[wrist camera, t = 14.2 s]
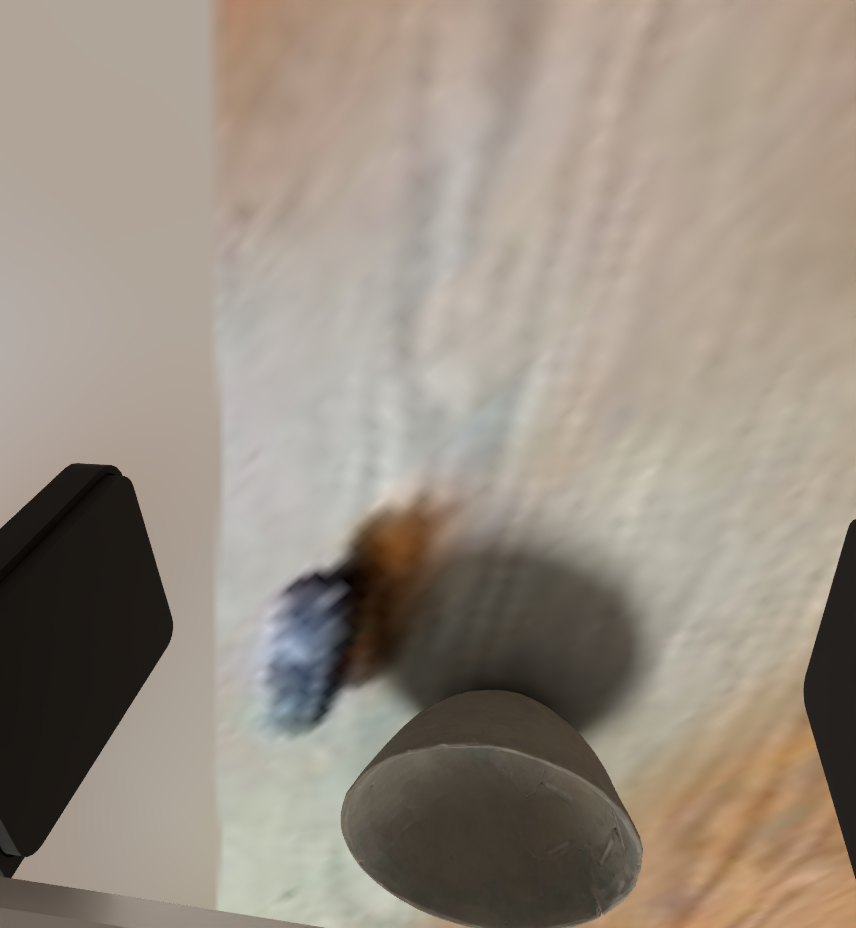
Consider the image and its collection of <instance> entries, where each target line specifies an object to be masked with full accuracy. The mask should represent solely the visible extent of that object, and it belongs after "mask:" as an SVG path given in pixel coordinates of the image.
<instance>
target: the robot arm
mask: <svg viewBox="0 0 856 928" xmlns="http://www.w3.org/2000/svg"><path fill="white" fill-rule="evenodd" d="M172 631H173V620H172V616H171V613H170V609H169V606H168V602H167V599H166V595H165V592H164V589H163V586H162V582H161V578H160V576H159V572H158V569H157V565H156V561H155V558H154V555H153V551H152V548H151V544H150V541H149V538H148V534H147V531H146V528H145V524H144V521H143V517H142V514H141V510H140V507H139V504H138V501H137V497H136V494H135V490H134V487H133V484H132V482H131V481H130V479H128V478H127V477H125V476H122V474H121V472H120V471H119V470H118V468H117V467H115V466H112V465H98V464H80V463H76V464H71V465H69V466H68V467H66V468H65V469H64V470H63V471H62V472H61V473H59V474H58V475H57V476H56V477H55V478H54V479H53V480H52V481H51V482H50V483H49V484H48V485H47V486H46V487H45V488H44V489H42V490H41V491H40V492H39V493H38V494H37V495H36V496H35V497H34V498H33V499H32V500H31V501H29V503H27V504H26V505H25V506H24V507H23V508H22V509H21V510H20V511H19V512H18V513H17V514H16V515H15V516H14V517H12V518H11V519H10V520H9V521H8V522H7V523H6V524H5V525H4V526H3V527H2V528H1V529H0V928H323V927H316V926H310V925H304V924H298V923H291V922H285V921H279V920H273V919H266V918H260V917H254V916H248V915H242V914H235V913H229V912H223V911H217V910H210V909H204V908H198V907H191V906H185V905H179V904H172V903H166V902H160V901H153V900H146V899H141V898H134V897H127V896H121V895H115V894H108V893H101V892H95V891H89V890H83V889H76V888H69V887H63V886H57V885H50V884H44V883H37V882H30V881H25V880H18V879H11V878H12V876H13V874H14V873H15V871H16V870H17V868H18V867H19V865H20V864H21V862H22V860H23V859H24V857H28V856H30V855H33V854H34V853H35V852H36V851H37V850H38V849H39V848H40V847H41V845H42V844H43V843H44V841H45V839H46V838H47V836H48V835H49V833H50V832H51V830H52V828H53V827H54V825H55V824H56V822H57V820H58V818H59V817H60V816H61V814H62V813H63V811H64V809H65V808H66V806H67V805H68V803H69V801H70V800H71V798H72V797H73V795H74V793H75V792H76V790H77V789H78V787H79V786H80V784H81V782H82V781H83V779H84V778H85V776H86V775H87V773H88V771H89V769H90V768H91V767H92V765H93V764H94V762H95V760H96V759H97V757H98V756H99V754H100V752H101V751H102V749H103V748H104V746H105V744H106V743H107V741H108V740H109V738H110V737H111V735H112V733H113V732H114V730H115V729H116V727H117V726H118V724H119V722H120V721H121V719H122V718H123V716H124V714H125V713H126V711H127V709H128V708H129V707H130V705H131V703H132V702H133V700H134V699H135V697H136V696H137V694H138V692H139V691H140V689H141V687H142V686H143V684H144V683H145V681H146V680H147V678H148V677H149V675H150V673H151V672H152V670H153V669H154V667H155V665H156V663H157V662H158V661H159V659H160V658H161V656H162V654H163V653H164V651H165V649H166V648H167V646H168V644H169V642H170V640H171V637H172ZM804 702H805V707H806V711H807V715H808V718H809V722H810V725H811V729H812V732H813V735H814V739H815V742H816V746H817V749H818V752H819V756H820V759H821V763H822V766H823V769H824V773H825V776H826V780H827V783H828V786H829V790H830V793H831V797H832V800H833V804H834V807H835V810H836V814H837V817H838V821H839V824H840V827H841V831H842V834H843V838H844V841H845V844H846V848H847V851H848V855H849V858H850V861H851V865H852V868H853V872H854V875H855V879H856V519H855V520H853V521H852V522H851V523H850V525H849V528H848V531H847V534H846V537H845V541H844V544H843V548H842V551H841V555H840V558H839V562H838V565H837V569H836V572H835V576H834V579H833V582H832V586H831V589H830V593H829V596H828V600H827V603H826V607H825V610H824V614H823V617H822V620H821V624H820V627H819V631H818V634H817V638H816V641H815V645H814V648H813V652H812V655H811V659H810V662H809V665H808V669H807V672H806V676H805V681H804Z"/></svg>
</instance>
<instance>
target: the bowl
mask: <svg viewBox="0 0 856 928" xmlns="http://www.w3.org/2000/svg"><path fill="white" fill-rule="evenodd" d="M341 828H342V833H343V836H344V839H345V841H346V844H347V846H348V848H349V850H350V852H351V854H352V856H353V857H354V859H355V860H356V861H357V863H358V864H359V866H360V867H361V868H362V869H363V870H364V871H365V872H366V873H367V874H368V875H369V876H370V877H371V878H372V879H373V880H374V881H375V882H377V883H378V884H379V885H380V886H382V887H383V888H384V889H386V890H387V891H388V892H390V893H391V894H393V895H394V896H396V897H397V898H399V899H400V900H402V901H404V902H406V903H408V904H409V905H411V906H413V907H415V908H416V909H418V910H421V911H423V912H425V913H428V914H430V915H432V916H435V917H438V918H440V919H443V920H446V921H449V922H453V923H456V924H460V925H464V926H468V927H472V928H571V927H575V926H578V925H581V924H584V923H587V922H590V921H592V920H595V919H597V918H599V917H600V915H601V912H602V914H603V915H605V914H606V913H607V912H609V911H610V910H612V909H613V908H615V907H616V906H617V905H619V904H620V903H621V902H623V901H624V899H625V898H626V897H627V896H628V895H629V894H630V892H631V891H632V890H633V888H634V887H635V885H636V882H637V879H638V875H639V873H640V869H641V863H642V854H643V848H642V844H641V840H640V836H639V834H638V832H637V830H636V828H635V826H634V824H633V822H632V820H631V818H630V816H629V814H628V813H627V811H626V809H625V807H624V805H623V804H622V802H621V800H620V798H619V796H618V794H617V792H616V790H615V788H614V786H613V784H612V782H611V780H610V778H609V776H608V774H607V772H606V770H605V768H604V767H603V765H602V763H601V762H600V760H599V759H598V757H597V756H596V754H595V752H594V751H593V750H592V749H591V747H590V746H589V745H588V744H587V742H586V741H585V740H584V739H583V737H582V736H581V735H580V734H579V733H578V732H577V731H576V730H575V729H574V728H573V727H572V726H571V725H570V724H569V723H568V722H566V721H565V720H564V719H563V718H561V717H560V716H559V715H557V714H556V713H555V712H554V711H552V710H551V709H549V708H548V707H546V706H545V705H543V704H541V703H540V702H538V701H536V700H534V699H532V698H530V697H527V696H525V695H522V694H520V693H515V692H511V691H506V690H478V691H469V692H464V693H461V694H457V695H454V696H451V697H449V698H446V699H444V700H442V701H440V702H438V703H435V704H433V705H432V706H430V707H428V708H427V709H425V710H424V711H422V712H420V713H419V714H418V715H416V716H415V717H414V718H413V719H412V720H410V721H409V722H408V723H407V724H406V725H405V726H404V727H403V728H402V729H401V730H400V731H399V732H398V733H397V734H396V735H395V736H394V737H393V738H392V739H391V740H390V741H389V742H388V743H387V744H386V745H385V746H384V748H383V749H382V750H381V751H380V752H379V753H378V754H377V755H376V757H375V758H374V759H373V760H372V761H371V762H370V763H369V764H368V766H367V767H366V768H365V769H364V771H363V772H362V773H361V774H360V776H359V777H358V778H357V780H356V781H355V782H354V784H353V785H352V786H351V787H350V789H349V790H348V792H347V793H346V796H345V799H344V802H343V806H342V811H341Z"/></svg>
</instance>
